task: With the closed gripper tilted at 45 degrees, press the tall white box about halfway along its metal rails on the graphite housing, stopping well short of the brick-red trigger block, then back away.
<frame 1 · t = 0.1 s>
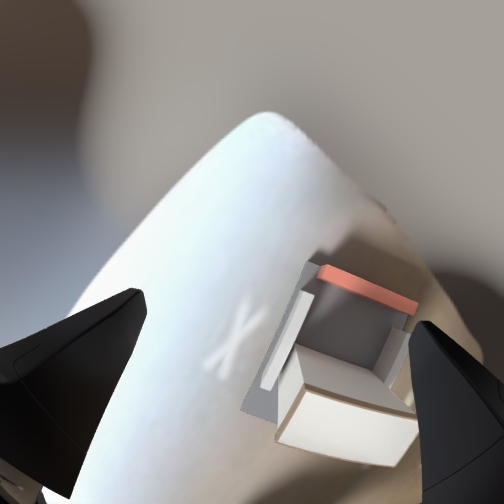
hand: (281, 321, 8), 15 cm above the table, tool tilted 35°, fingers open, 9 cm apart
key housing: (322, 367, 22), on the table
white box: (337, 397, 15), point 7 cm above the table, slide at 0.0 cm
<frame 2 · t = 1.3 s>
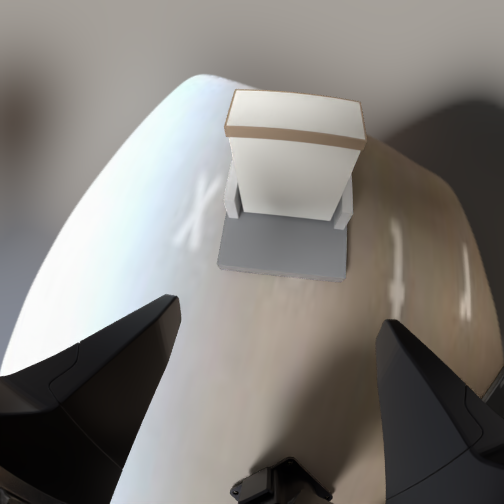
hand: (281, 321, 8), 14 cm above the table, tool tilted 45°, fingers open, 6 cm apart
key housing: (287, 209, 24), on the table
white box: (292, 164, 18), point 7 cm above the table, slide at 0.0 cm
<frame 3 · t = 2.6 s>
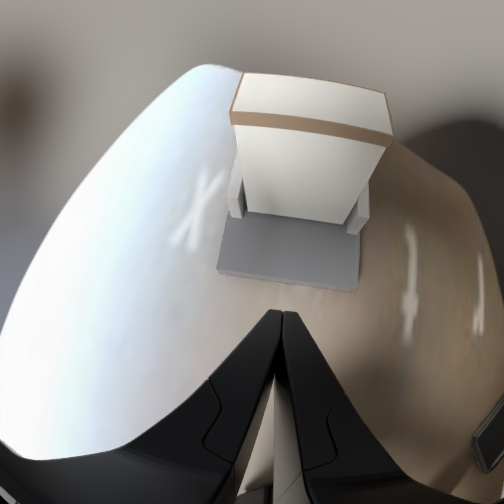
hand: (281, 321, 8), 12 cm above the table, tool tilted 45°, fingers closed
key housing: (295, 210, 22), on the table
white box: (305, 160, 15), point 7 cm above the table, slide at 0.0 cm
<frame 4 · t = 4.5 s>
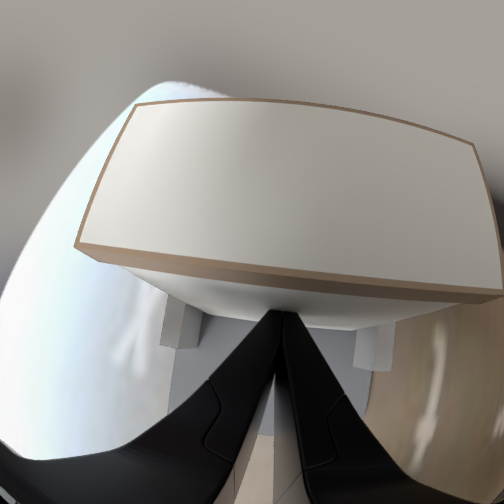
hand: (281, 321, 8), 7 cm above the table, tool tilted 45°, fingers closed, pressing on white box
key housing: (279, 322, 15), on the table
white box: (291, 265, 9), point 7 cm above the table, slide at 1.3 cm, touching gripper
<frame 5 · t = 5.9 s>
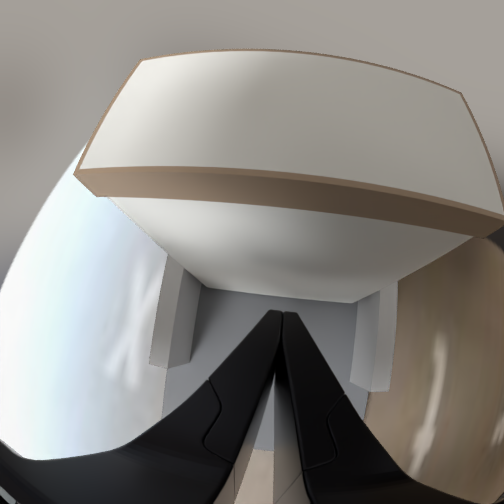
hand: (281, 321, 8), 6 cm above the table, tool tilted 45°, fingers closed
key housing: (274, 335, 14), on the table
white box: (290, 223, 9), point 7 cm above the table, slide at 3.3 cm
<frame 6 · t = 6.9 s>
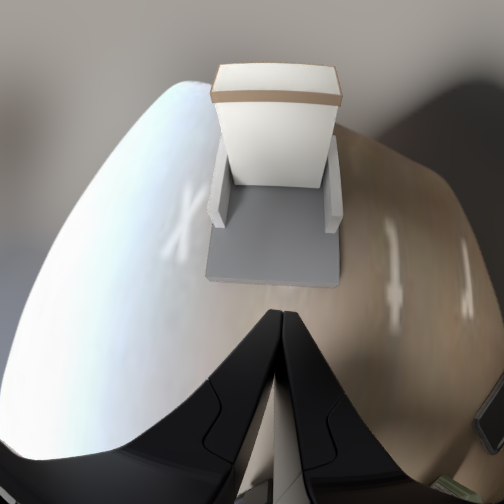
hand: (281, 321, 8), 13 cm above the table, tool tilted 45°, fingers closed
key housing: (276, 215, 23), on the table
white box: (277, 131, 18), point 7 cm above the table, slide at 3.3 cm
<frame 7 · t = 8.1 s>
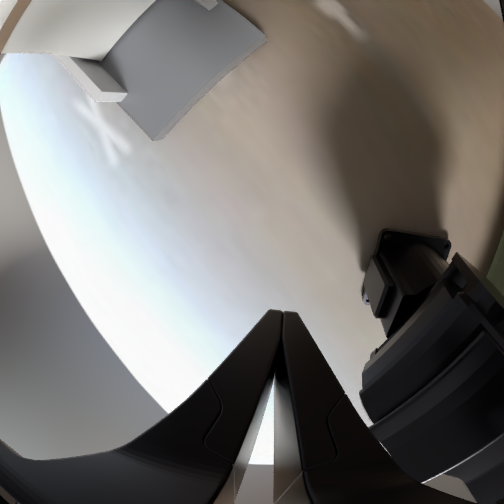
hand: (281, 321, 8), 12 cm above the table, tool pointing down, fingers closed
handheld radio: (486, 284, 19), on the table
key housing: (158, 40, 14), on the table
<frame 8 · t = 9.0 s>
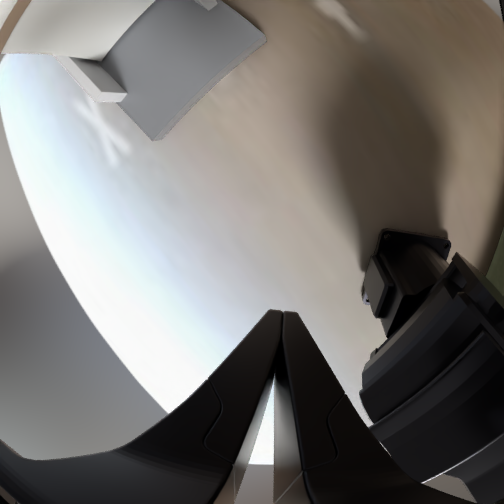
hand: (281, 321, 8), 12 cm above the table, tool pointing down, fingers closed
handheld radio: (485, 284, 19), on the table
key housing: (157, 40, 14), on the table
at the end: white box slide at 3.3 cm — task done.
